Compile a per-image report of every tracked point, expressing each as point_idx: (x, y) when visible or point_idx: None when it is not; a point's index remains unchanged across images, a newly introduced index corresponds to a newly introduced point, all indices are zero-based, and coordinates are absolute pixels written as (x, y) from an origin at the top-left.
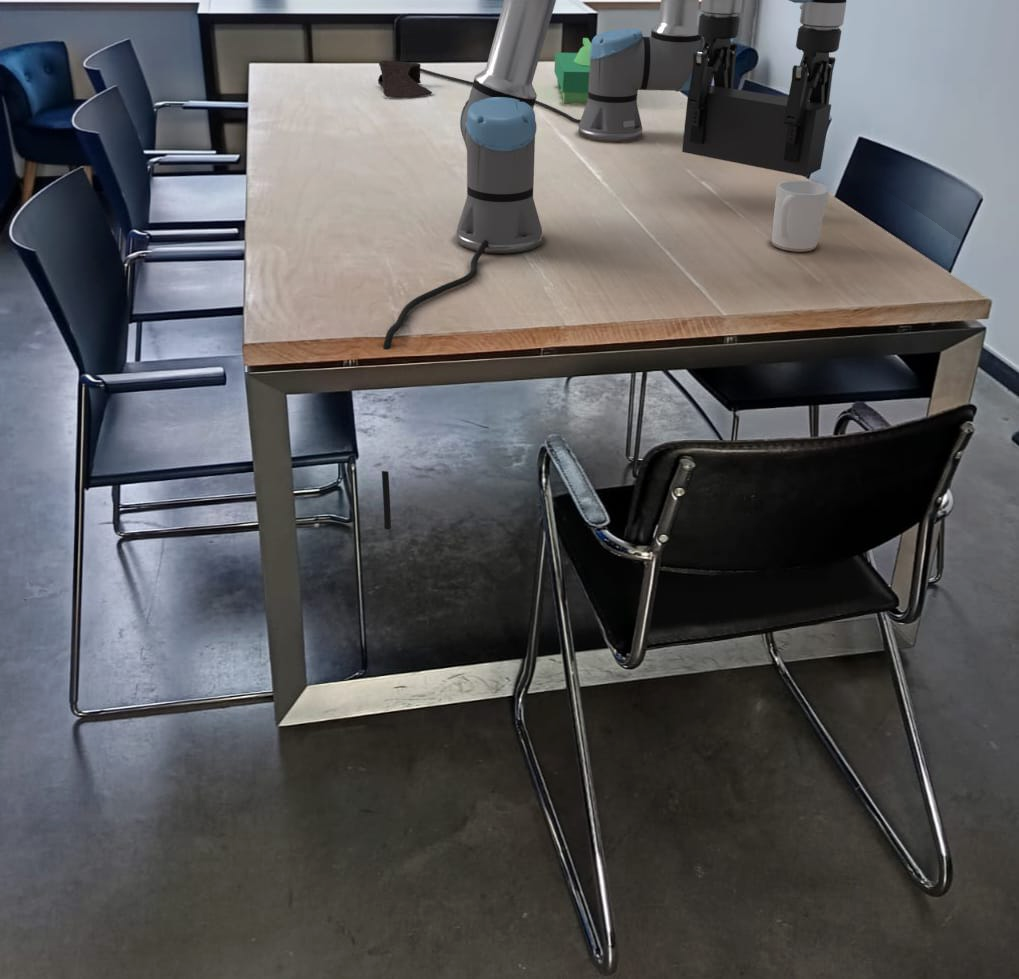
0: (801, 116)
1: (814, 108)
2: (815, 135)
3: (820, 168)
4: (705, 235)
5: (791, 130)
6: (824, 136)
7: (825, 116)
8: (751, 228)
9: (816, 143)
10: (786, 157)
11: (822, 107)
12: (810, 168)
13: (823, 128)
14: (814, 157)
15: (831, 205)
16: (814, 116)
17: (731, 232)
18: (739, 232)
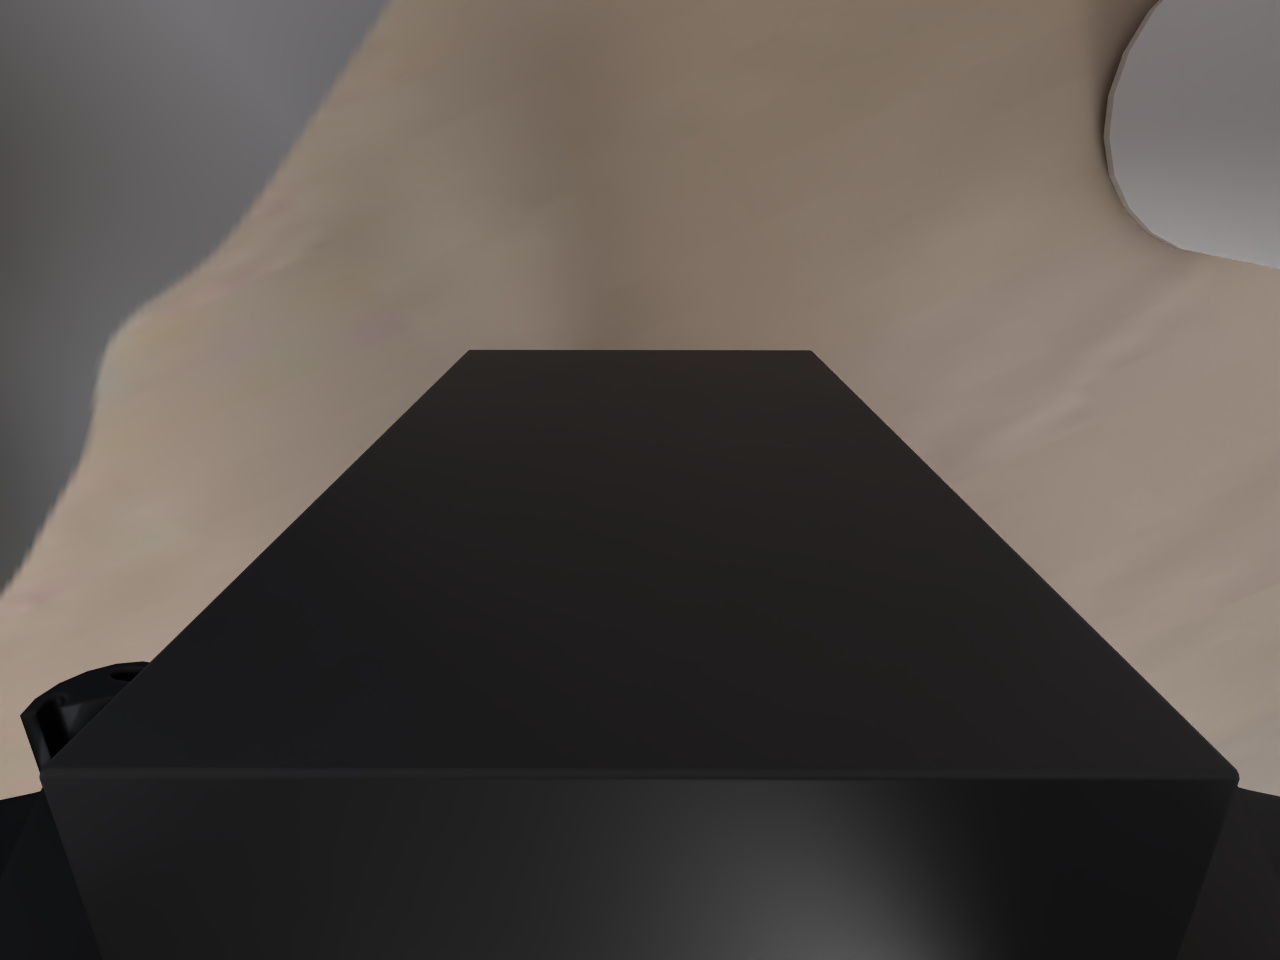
0: (1278, 881)
1: (948, 907)
2: (809, 479)
3: (473, 350)
4: (1273, 578)
5: None
6: (432, 449)
7: (458, 607)
8: (1031, 452)
9: (694, 435)
10: None
11: (646, 810)
12: (733, 361)
13: (497, 503)
14: (678, 386)
15: (276, 271)
16: (1140, 686)
17: (1158, 502)
18: (1137, 470)
